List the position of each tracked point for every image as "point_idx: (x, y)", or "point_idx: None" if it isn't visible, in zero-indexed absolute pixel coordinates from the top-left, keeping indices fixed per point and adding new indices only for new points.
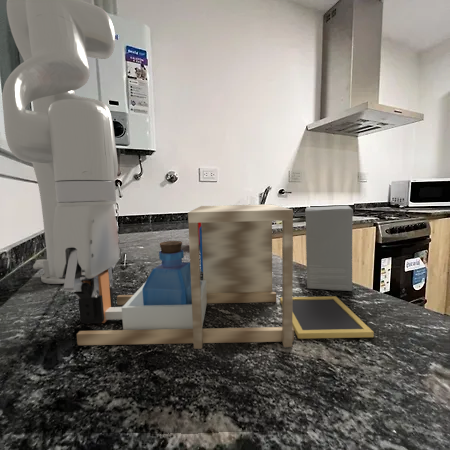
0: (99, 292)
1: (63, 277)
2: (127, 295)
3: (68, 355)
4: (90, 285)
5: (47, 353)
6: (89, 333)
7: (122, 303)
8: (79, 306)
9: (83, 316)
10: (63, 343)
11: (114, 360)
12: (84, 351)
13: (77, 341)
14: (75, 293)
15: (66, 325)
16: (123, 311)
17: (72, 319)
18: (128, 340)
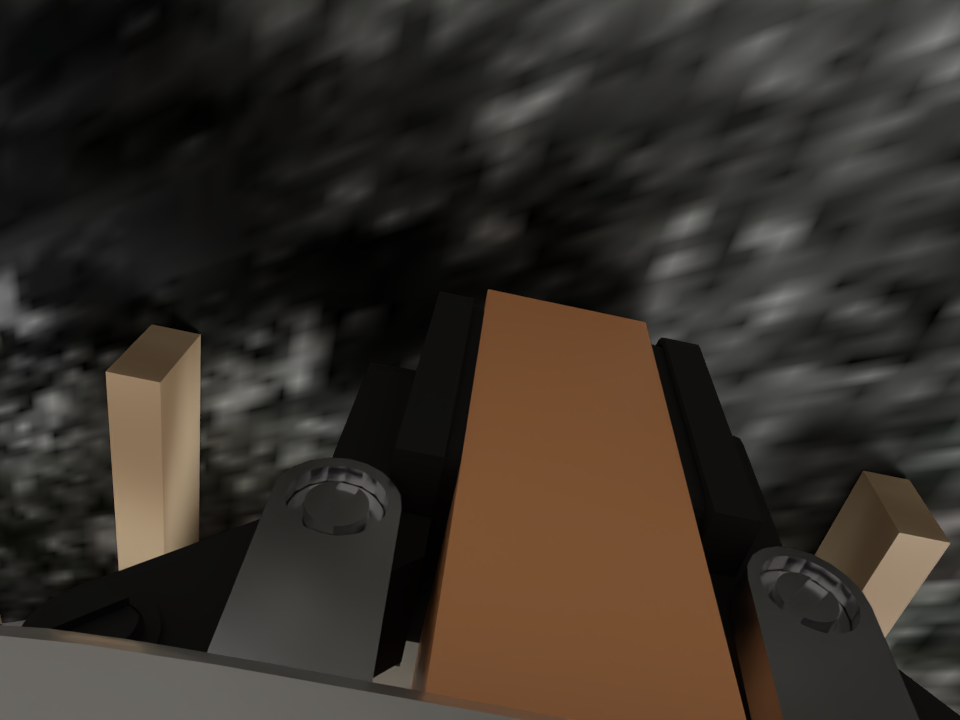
0: (414, 670)
1: (62, 632)
2: (883, 614)
3: (29, 300)
4: (418, 684)
5: (41, 130)
6: (121, 457)
7: (844, 523)
8: (416, 375)
9: (365, 374)
10: (186, 203)
11: (6, 553)
12: (82, 387)
13: (138, 340)
14: (137, 567)
15: (536, 97)
16: None
17: (675, 110)
18: None
